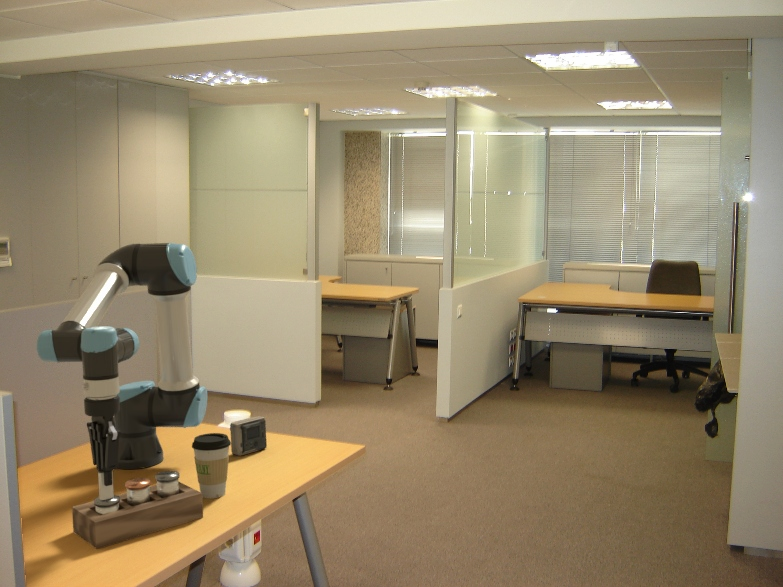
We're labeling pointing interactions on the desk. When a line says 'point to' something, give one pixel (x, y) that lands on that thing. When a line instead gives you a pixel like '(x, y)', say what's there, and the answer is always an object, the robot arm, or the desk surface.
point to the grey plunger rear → (167, 483)
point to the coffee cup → (212, 463)
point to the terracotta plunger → (137, 491)
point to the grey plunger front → (107, 505)
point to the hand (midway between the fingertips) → (106, 498)
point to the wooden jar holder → (136, 517)
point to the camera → (248, 435)
